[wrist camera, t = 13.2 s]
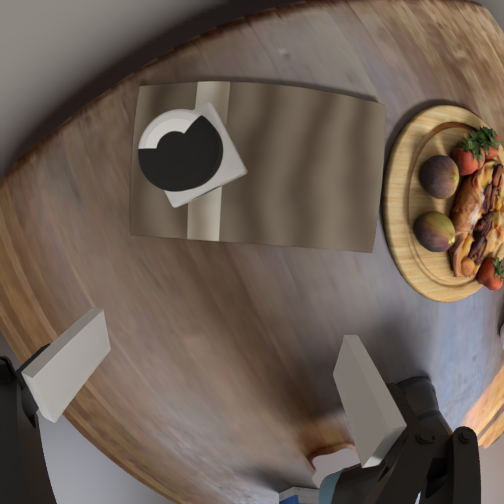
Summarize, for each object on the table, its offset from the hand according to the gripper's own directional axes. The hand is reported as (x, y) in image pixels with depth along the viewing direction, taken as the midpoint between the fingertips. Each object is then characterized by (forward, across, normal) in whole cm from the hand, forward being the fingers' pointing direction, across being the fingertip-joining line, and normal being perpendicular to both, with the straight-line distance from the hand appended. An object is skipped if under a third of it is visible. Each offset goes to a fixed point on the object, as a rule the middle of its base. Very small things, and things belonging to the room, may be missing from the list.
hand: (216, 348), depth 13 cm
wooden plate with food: (+24, -34, -10) cm, 42 cm away
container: (+21, +5, -11) cm, 24 cm away
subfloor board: (+22, -1, -11) cm, 25 cm away
